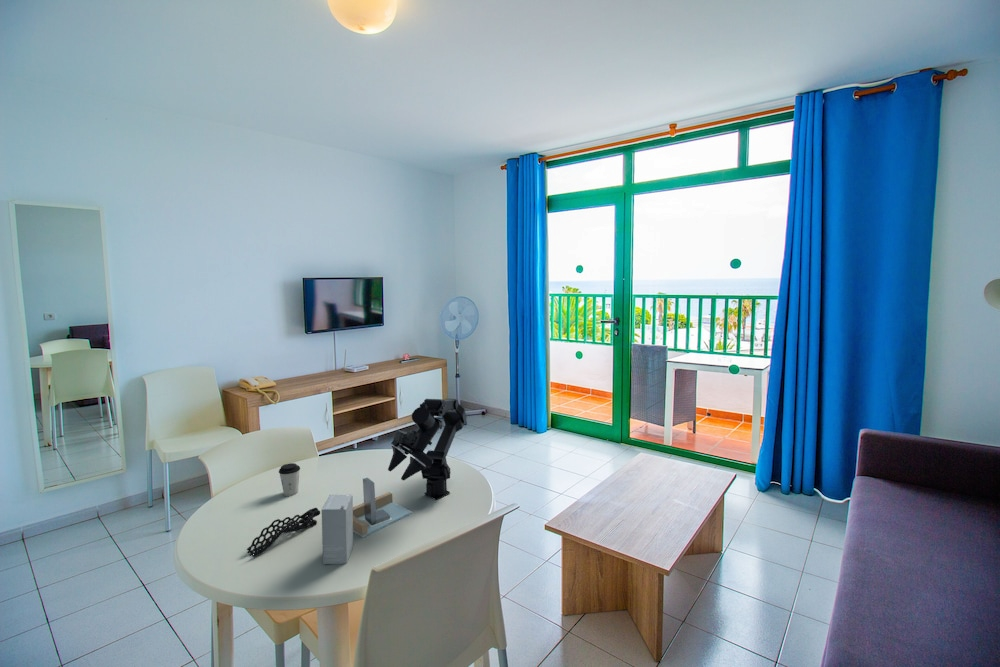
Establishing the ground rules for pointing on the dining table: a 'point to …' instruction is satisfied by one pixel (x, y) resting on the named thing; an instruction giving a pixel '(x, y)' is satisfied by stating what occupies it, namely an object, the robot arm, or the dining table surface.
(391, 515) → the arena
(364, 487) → the grey tall post
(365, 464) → the dining table surface
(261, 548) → the decorative element
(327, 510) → the skincare box
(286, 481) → the coffee cup
